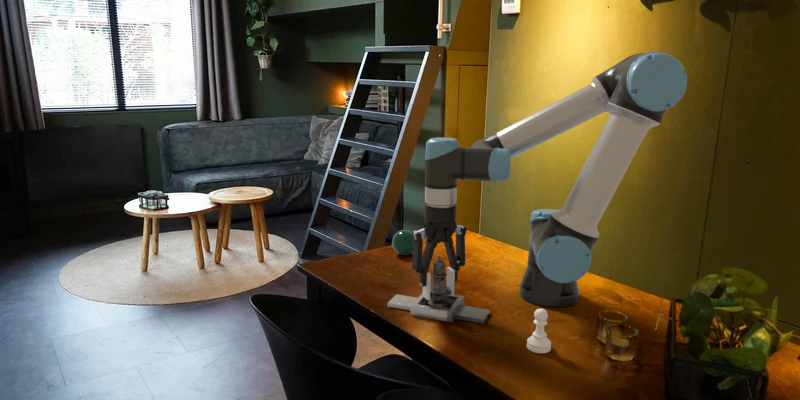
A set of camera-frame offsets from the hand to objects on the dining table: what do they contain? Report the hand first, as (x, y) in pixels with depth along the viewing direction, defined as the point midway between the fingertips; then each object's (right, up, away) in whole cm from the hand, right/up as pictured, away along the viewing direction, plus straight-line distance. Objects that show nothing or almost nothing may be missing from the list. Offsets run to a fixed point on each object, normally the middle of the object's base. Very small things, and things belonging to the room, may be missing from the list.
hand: (438, 295), depth 139 cm
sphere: (-8, +6, +42) cm, 43 cm away
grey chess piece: (0, -2, +1) cm, 2 cm away
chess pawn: (+20, -9, -17) cm, 28 cm away
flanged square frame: (0, -4, +1) cm, 4 cm away
